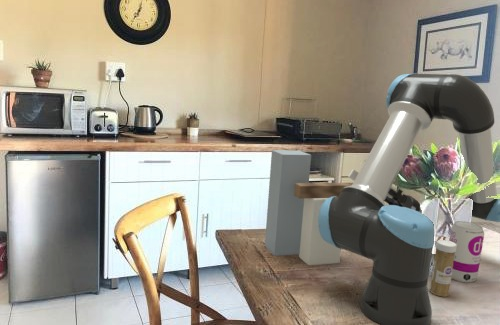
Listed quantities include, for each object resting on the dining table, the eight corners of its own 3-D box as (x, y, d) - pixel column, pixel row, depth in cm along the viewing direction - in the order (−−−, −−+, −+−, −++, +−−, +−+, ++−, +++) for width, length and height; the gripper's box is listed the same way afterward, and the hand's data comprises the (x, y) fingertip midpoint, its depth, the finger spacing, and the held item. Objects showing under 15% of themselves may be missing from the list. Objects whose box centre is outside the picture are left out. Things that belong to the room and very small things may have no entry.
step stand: (313, 243, 137) (322, 151, 132) (339, 262, 122) (350, 160, 117) (264, 246, 131) (271, 150, 126) (285, 267, 116) (294, 159, 111)
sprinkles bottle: (440, 298, 104) (448, 246, 102) (425, 290, 108) (432, 240, 106) (453, 295, 106) (461, 244, 104) (437, 287, 110) (444, 238, 108)
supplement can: (483, 281, 116) (492, 229, 113) (461, 285, 112) (469, 230, 110) (459, 269, 123) (467, 219, 120) (437, 272, 120) (445, 221, 117)
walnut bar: (361, 194, 126) (362, 182, 125) (368, 197, 123) (369, 185, 122) (294, 195, 119) (295, 183, 118) (299, 198, 115) (300, 186, 115)
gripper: (433, 235, 119) (383, 200, 112) (379, 210, 143) (335, 179, 135) (447, 212, 120) (398, 175, 112) (391, 191, 143) (347, 159, 135)
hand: (363, 177), depth 123 cm, fingers open, 13 cm apart
